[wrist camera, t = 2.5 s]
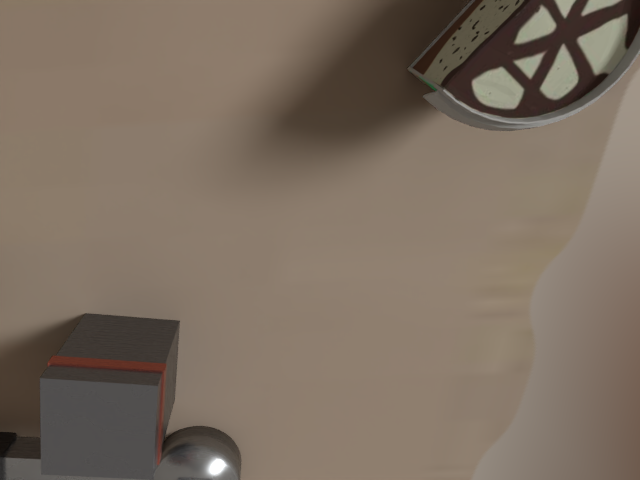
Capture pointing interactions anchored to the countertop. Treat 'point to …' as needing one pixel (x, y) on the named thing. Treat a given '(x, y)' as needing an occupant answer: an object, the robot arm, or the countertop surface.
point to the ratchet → (170, 475)
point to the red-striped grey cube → (109, 398)
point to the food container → (528, 60)
